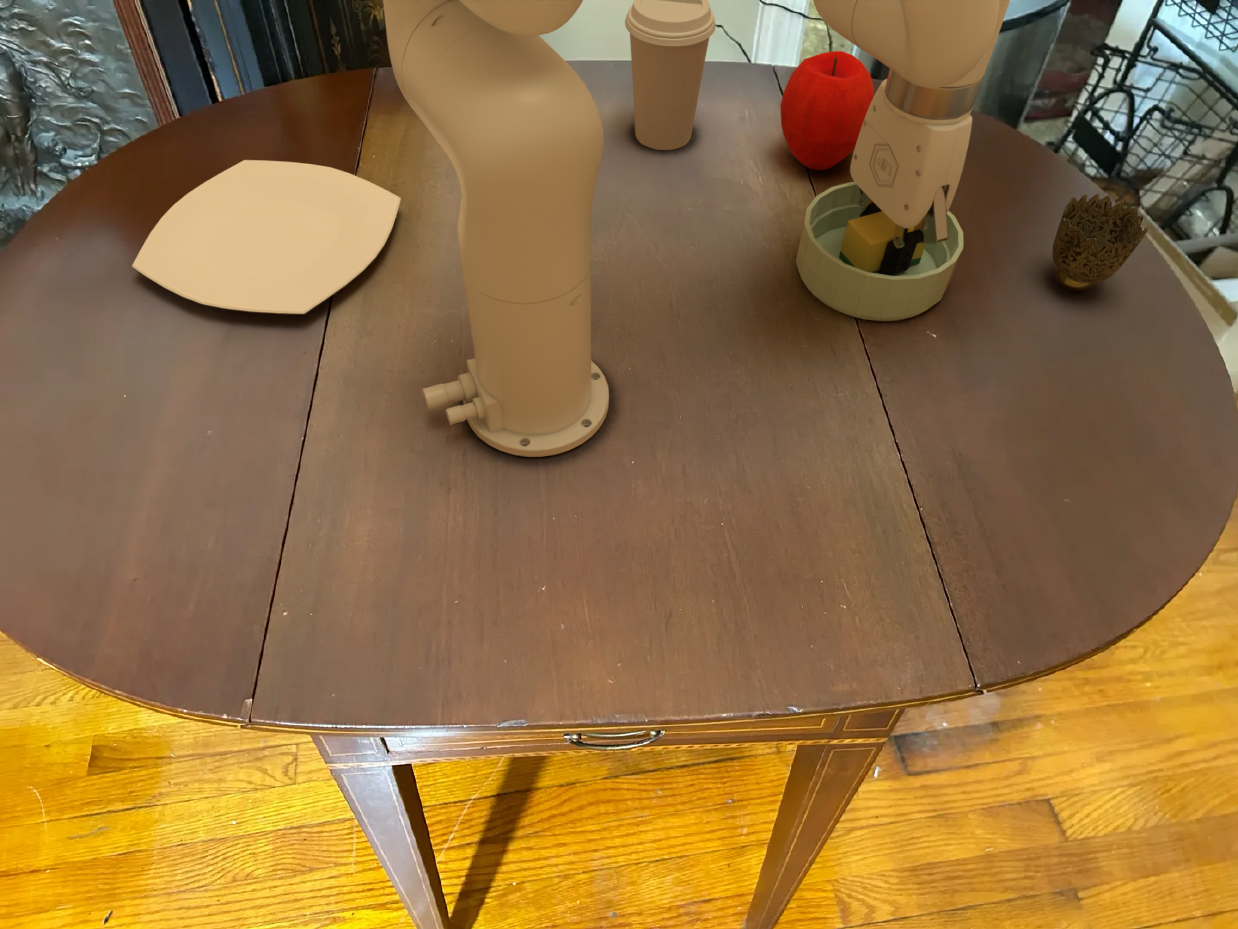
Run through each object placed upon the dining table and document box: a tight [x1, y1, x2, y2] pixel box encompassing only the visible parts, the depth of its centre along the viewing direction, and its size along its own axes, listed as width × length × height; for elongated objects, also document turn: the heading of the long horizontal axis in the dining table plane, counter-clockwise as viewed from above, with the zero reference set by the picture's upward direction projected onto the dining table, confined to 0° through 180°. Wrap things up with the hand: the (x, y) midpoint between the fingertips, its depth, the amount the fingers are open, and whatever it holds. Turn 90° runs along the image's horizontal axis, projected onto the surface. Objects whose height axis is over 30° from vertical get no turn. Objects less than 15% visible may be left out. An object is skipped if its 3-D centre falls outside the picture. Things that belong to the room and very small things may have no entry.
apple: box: [779, 50, 875, 171], centre depth 98 cm, size 10×10×12 cm
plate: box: [131, 159, 402, 316], centre depth 91 cm, size 23×23×2 cm
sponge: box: [839, 211, 926, 274], centre depth 90 cm, size 7×4×4 cm, turn 113°
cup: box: [1051, 193, 1149, 293], centre depth 88 cm, size 8×7×8 cm
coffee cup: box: [624, 0, 717, 151], centre depth 100 cm, size 10×10×15 cm
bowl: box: [795, 181, 964, 322], centre depth 89 cm, size 15×15×6 cm
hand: (879, 256), depth 91 cm, fingers closed on sponge, 4 cm apart
